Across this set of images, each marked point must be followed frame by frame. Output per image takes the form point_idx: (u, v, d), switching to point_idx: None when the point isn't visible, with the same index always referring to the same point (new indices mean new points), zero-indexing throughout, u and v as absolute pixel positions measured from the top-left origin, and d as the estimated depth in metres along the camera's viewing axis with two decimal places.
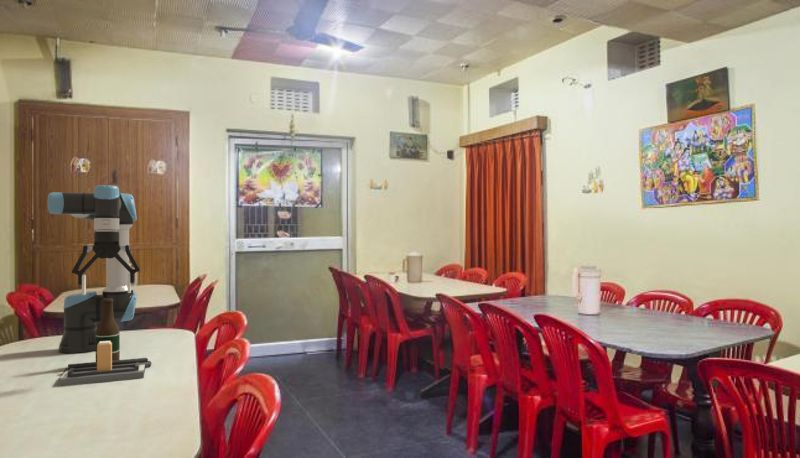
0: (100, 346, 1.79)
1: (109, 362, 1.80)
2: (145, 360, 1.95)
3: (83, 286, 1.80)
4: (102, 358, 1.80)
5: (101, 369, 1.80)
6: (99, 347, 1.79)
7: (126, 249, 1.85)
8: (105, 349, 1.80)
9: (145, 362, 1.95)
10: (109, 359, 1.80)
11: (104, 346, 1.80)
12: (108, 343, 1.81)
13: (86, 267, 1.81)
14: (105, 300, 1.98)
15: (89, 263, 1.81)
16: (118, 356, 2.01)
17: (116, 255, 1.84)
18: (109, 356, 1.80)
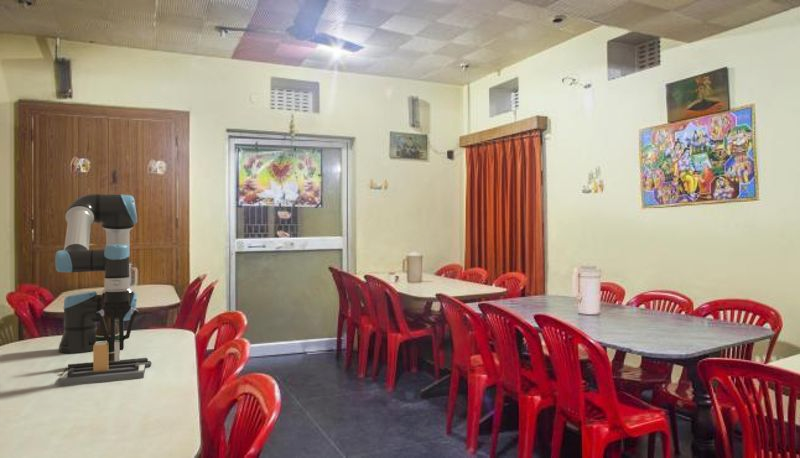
0: (96, 346, 1.79)
1: (105, 362, 1.80)
2: (145, 360, 1.95)
3: (116, 352, 1.82)
4: (98, 358, 1.79)
5: (97, 369, 1.79)
6: (95, 347, 1.79)
7: (133, 313, 1.84)
8: (101, 349, 1.80)
9: (145, 362, 1.95)
10: (105, 359, 1.80)
11: (100, 346, 1.79)
12: (104, 343, 1.80)
13: (113, 331, 1.82)
14: None
15: (112, 327, 1.82)
16: None
17: (121, 317, 1.82)
18: (105, 356, 1.80)
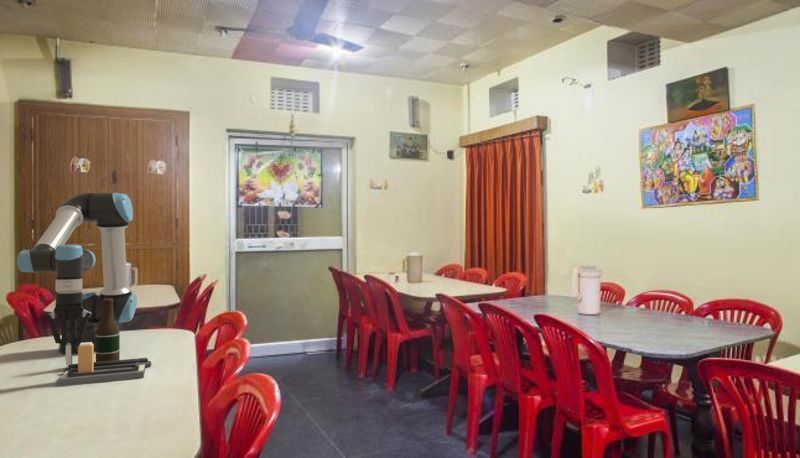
0: (81, 347, 1.77)
1: (90, 364, 1.78)
2: (145, 360, 1.95)
3: (67, 356, 1.76)
4: (83, 359, 1.78)
5: (82, 371, 1.77)
6: (80, 348, 1.77)
7: (86, 316, 1.79)
8: (86, 350, 1.78)
9: (145, 362, 1.95)
10: (90, 361, 1.78)
11: (85, 348, 1.78)
12: (89, 344, 1.79)
13: (64, 334, 1.76)
14: (105, 300, 1.98)
15: (63, 330, 1.76)
16: (118, 356, 2.01)
17: (73, 320, 1.77)
18: (90, 358, 1.78)
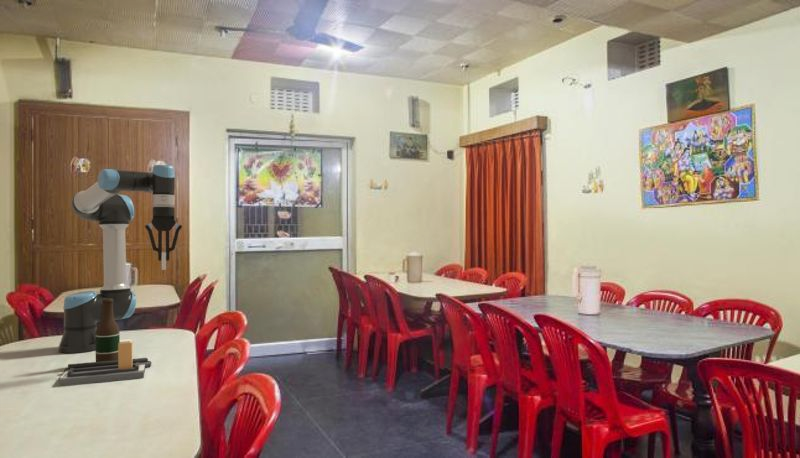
0: (121, 344, 1.82)
1: (130, 360, 1.83)
2: (145, 360, 1.95)
3: (162, 262, 2.02)
4: (123, 356, 1.82)
5: (122, 367, 1.82)
6: (120, 345, 1.82)
7: (178, 228, 2.04)
8: (126, 347, 1.82)
9: (145, 362, 1.95)
10: (130, 357, 1.83)
11: (125, 345, 1.82)
12: (129, 341, 1.83)
13: (160, 243, 2.02)
14: (105, 300, 1.98)
15: (160, 239, 2.02)
16: None
17: (167, 230, 2.02)
18: (130, 354, 1.83)
